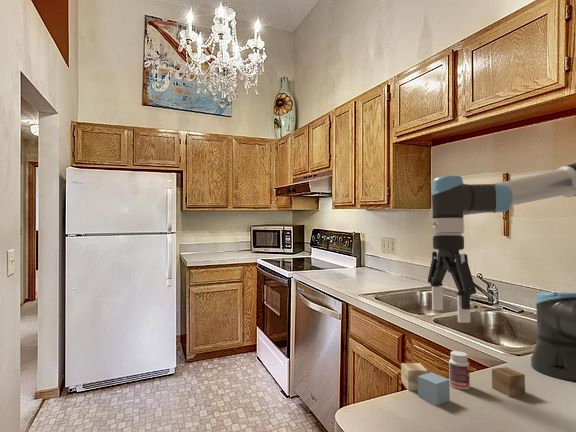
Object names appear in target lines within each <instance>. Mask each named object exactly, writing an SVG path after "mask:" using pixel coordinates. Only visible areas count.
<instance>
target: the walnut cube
mask: <svg viewBox="0 0 576 432" xmlns="http://www.w3.org/2000/svg"><path fill="white" fill-rule="evenodd" d="M525 379H526V376H525V374H524V373H523V372H522V373H521V372H520V371H517V370H514V369H513V368H511V367H508V366H503V367H497V368H496V367H495V368H492V369H491V388H492V389H493V390H495V391H497V392H499V393H501V394H502V395H505V396H507V397H509V398H511V397H518V396H520V397H521V396H525V395H526V380H525Z"/></svg>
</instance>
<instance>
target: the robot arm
mask: <svg viewBox="0 0 576 432" xmlns="http://www.w3.org/2000/svg"><path fill="white" fill-rule="evenodd" d="M463 181H464V180H463V177H461V176H460V175H443V176H438V177H435V178H434V179H433V180H432V185H431V208H432V209H431V210H432V222H431V226H432V233H433V234H435V235H433V236H432V249H434V250H438V251H432V252H431V255H432V256H431V263H430V267H429V268H430V269H429V271H428V272H429V273H428V276H427V277H428V278H427V283H429V284H430V286H431V300H432V301H431V302H432V303H431V305H432V306H431V308H432V309H431V310H432V311H444V302H443V301H444V298H443V297H444V296H443V291H444V290H443V286H444V285H443V281H444V278H445V277H446V274H447V271H448V273H450V275H451V277H452V279H453V282H454V284H455V287H456V289H457V291H458V292H457V293H456V295H457V296H456V298H457V300H456V302H457V305H456V307H457V322H458V323H459V324H460V323H464V324H465V323H466V324H467V323H470V324H471V296H472V295H476V294H477V289H476V285H475V283H474V282H475V281H474V279H473V275H472V273H471V270H470V265H469V260H468V255H467V253H460V251H462V250H463V251H464V249H465V237H464V235H462V234H464V232H465V230H464V229H465V227H464V226H465V225H464V224H465V223H464V222H465V219H464V216H468V215H477V214H483V213H487V214H488V213H493V214H496V213H505V212H507V211H509V210H510V208H511V207H512V206H516V205H520V204H521V205H522V204H527V203H531V202H535V201H536V202H537V201H540V200H546V199H551V198H555V197H556V198H557V197H561V196H563V197H565V198H572V197H576V162H575V163H570V164H567V165H563V166H559V167H558V168H557V169H556V170H555V171H548V172H545V173H539V174H534V175H530V176H524V177H521V178H516V179H510V180H507V181H500V182H496V183H489V184H488V183H487V184H485V183H483V184H481V183H480V184H476V183H475V184H474V183H473V184H468V183H464V182H463ZM535 299H536V301H535V306H536V334H537V335H536V336H537V341H536V344H535V346H534V350H533V353H532V355H531V357H530V366H531V368H533V369H534V370H536V371H537V372H540V373H542V374H544V375H547V376H550V377H553V378H557V379H561V380H562V379H563V380H565V381H573V382H576V292H564V291H563V292H562V291H561V292H558V291H557V292H556V291H553V292H552V291H541V292H538V294H536V298H535Z"/></svg>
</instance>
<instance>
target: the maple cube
mask: <svg viewBox="0 0 576 432" xmlns="http://www.w3.org/2000/svg"><path fill="white" fill-rule="evenodd" d="M400 370H401V371H400V377H401V378H400V379H401V380H400V382H401V383H402V384H403V386H404V387H405V388H406V390H407V391H418V376H421V375H424V374H427V373H429V371H428V369H427V368H425V367H424V366H423V365H422V364H421V363H420V362H411V363H410V362H401V363H400Z"/></svg>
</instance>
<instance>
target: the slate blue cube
mask: <svg viewBox="0 0 576 432" xmlns="http://www.w3.org/2000/svg"><path fill="white" fill-rule="evenodd" d="M450 386H451V385H450V383H449V378H446V377H444V376H442V375H440V374H436V373H435V372H433V371H432V372H431V371H430V372H428V373H427V374H424V375H421V376H418V390H417V393H418V394H417V395H418V398H420V399H421V400H424V401H425V402H428V403H430V404H431V405H433V406H436V407H437V406H439V405H442V404H444V403H447V402H449V401H450V399H451V398H450V395H451V393H450V389H451V387H450Z"/></svg>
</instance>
